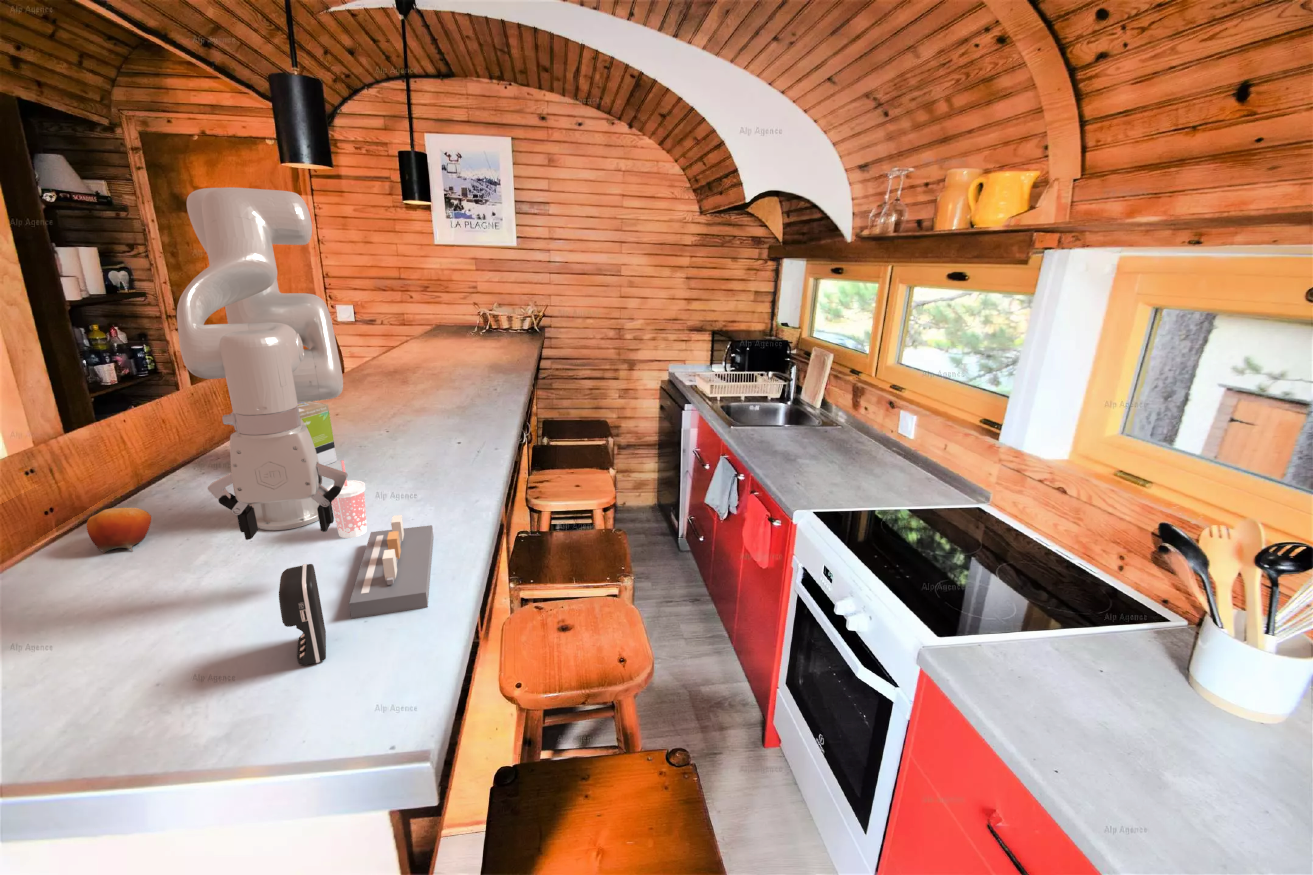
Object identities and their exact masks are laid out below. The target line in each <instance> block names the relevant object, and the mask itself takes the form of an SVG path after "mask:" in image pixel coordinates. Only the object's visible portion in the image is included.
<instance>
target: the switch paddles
mask: <svg viewBox="0 0 1313 875" xmlns="http://www.w3.org/2000/svg"><path fill="white" fill-rule="evenodd" d="M390 523H391V524H390V525H391V526H390V527H391V530H392V532H389V533H388V538H387V544H388V550H384V554H383V558H382V560H383V567H384V575H385V580H387V585H391V584H393V583H394V579H396V574H397V562H398V559H399V558H400V553H401V548H400V546H401V541H403V537H404V529H403V528H404V522H403V515H402V514H397V515H393V516H392V517H391V522H390Z"/></svg>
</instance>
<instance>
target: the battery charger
mask: <svg viewBox="0 0 1313 875" xmlns="http://www.w3.org/2000/svg"><path fill="white" fill-rule="evenodd" d="M278 588H279V589H278V602H279V609H280V615H281V622H282V624H284V626H285V627H287V628H288V627H296V629H298V630H299V631H301V633H302V634H301V635H300V636H299V637H298V639H297V648H296V649H297V653H296V660H297V663H298V665H301V666H306V665H307V666H308V665H312V664H315V663H316V664H318V663H321V662H323V661H325V660H326V658H327V636H326V635H327V634H326V633H327V631H326V627H325V621H324V615H323V609H322V605H321V604H322V603H321V597H320V592H319V587H318V581H317V576H316V570H315V566H314V564H312V563H304V564H302V565H297V566H293V567H289V568H286V569H285V570H283V571H282V573H281V575H280V580H279V586H278Z"/></svg>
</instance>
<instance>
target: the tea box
mask: <svg viewBox="0 0 1313 875" xmlns="http://www.w3.org/2000/svg"><path fill="white" fill-rule="evenodd" d="M298 409H299V414H300V418H301V419H302V420H303V422H304V424H305V426H306V427H307V429H308V431H309V433H310V436H311V438H312V441H313V444H314V447H315V450H316V453H317V457H318V460H319V464H322V465H325V466H328V465H331V464H333V463H336V462H337V461H338V459H337V452H336V447H335V439H334V433H333V427H332V421H331V416H330V415H331V414H330V413H331V412H330V409H329V404H328V403H322V402H319V401H310V402H300V403H298Z"/></svg>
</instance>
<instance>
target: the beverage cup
mask: <svg viewBox="0 0 1313 875" xmlns="http://www.w3.org/2000/svg"><path fill="white" fill-rule="evenodd" d="M340 465H341V471H343V472H346V466H345V461H344V459H341V460H340ZM333 485H334V483H333V484H331V485H329V486H328V487H327V488H326V489H327V490H328V491H329V490H330V489H331V488H332V487H333ZM366 490H367V489H366V483H365V482H364V481H361V480H347V479H346V481H345V483H344V485H343V488H342V490H341V492H340V493H339V494H338V496H337V497H336V498H335V499H334V500H333V501H332V502H331V504H332V510H333V516H334V521H335V523H336V524H335V525H336V528H337V532H338V536H339V537H340V538H343V539H353V538H358V537H360V536H363V535H364V534H366V533H367V531H368V527H367V514H366V500H365V499H366V498H365V491H366Z"/></svg>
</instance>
